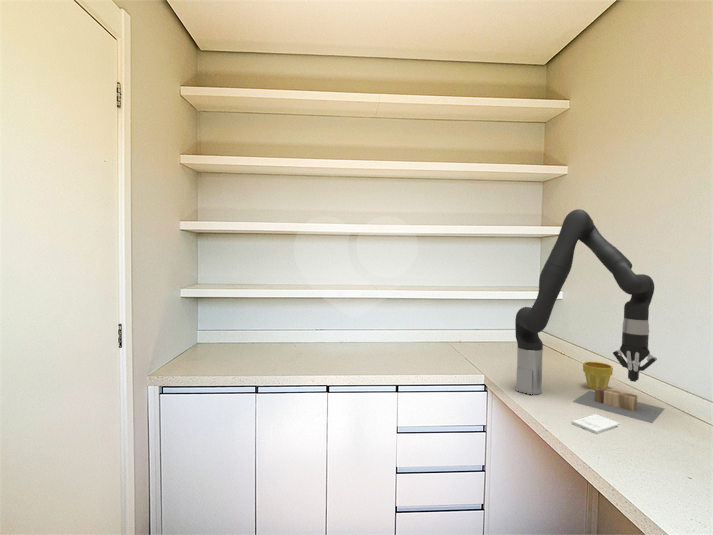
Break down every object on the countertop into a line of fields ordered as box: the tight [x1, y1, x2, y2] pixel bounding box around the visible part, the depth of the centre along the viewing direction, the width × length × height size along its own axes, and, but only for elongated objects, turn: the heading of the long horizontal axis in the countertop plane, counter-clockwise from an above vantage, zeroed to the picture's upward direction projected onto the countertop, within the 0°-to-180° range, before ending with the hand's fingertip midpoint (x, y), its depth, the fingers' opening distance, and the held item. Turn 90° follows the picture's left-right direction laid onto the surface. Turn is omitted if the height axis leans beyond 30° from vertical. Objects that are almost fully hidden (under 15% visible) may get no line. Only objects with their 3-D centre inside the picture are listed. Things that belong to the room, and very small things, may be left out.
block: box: [594, 387, 638, 411], centre depth 143 cm, size 4×4×12 cm
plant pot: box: [582, 361, 614, 390], centre depth 162 cm, size 10×10×10 cm
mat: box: [572, 390, 665, 424], centre depth 143 cm, size 18×24×1 cm
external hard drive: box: [571, 413, 621, 435], centre depth 128 cm, size 2×8×12 cm
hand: (633, 380), depth 139 cm, fingers closed
